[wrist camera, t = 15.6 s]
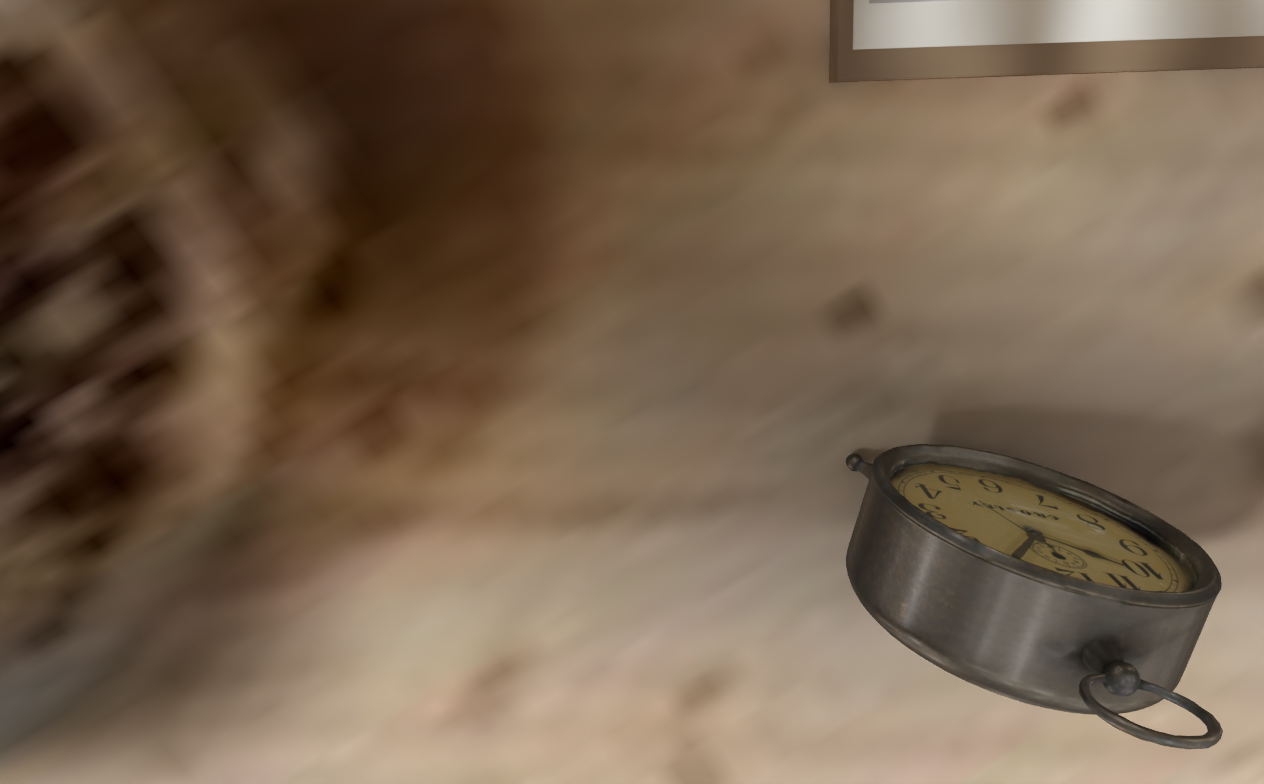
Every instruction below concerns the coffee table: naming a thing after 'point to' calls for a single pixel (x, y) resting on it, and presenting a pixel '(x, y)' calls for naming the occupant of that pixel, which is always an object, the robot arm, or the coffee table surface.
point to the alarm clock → (1032, 583)
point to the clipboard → (1039, 37)
